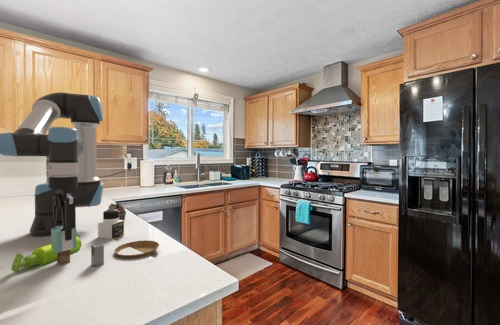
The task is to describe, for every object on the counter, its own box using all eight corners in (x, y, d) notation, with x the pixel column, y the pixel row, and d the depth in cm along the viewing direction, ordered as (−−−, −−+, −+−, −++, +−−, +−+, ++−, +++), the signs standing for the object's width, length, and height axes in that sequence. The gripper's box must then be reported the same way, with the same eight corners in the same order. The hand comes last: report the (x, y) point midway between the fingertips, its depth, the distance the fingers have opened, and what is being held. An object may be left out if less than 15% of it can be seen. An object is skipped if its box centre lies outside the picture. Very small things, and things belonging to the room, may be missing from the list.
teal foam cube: (51, 248, 78) (51, 228, 78) (70, 244, 82) (70, 224, 82) (56, 253, 75) (56, 231, 75) (76, 248, 79) (76, 227, 79)
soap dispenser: (84, 237, 89) (26, 259, 70) (78, 254, 90) (19, 280, 70) (71, 230, 90) (10, 250, 70) (65, 247, 91) (3, 271, 71)
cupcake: (129, 221, 134) (129, 203, 134) (111, 225, 126) (112, 205, 126) (120, 218, 139) (120, 201, 139) (102, 222, 131) (102, 203, 131)
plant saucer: (113, 266, 79) (113, 258, 79) (115, 250, 92) (115, 243, 92) (161, 257, 86) (161, 250, 86) (156, 244, 99) (156, 238, 99)
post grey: (91, 267, 77) (91, 245, 77) (100, 264, 79) (100, 243, 79) (94, 270, 75) (94, 247, 75) (103, 267, 77) (103, 245, 77)
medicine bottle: (112, 241, 102) (112, 212, 102) (97, 239, 103) (97, 211, 103) (124, 235, 109) (124, 209, 109) (110, 234, 110) (110, 208, 110)
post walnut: (57, 265, 78) (57, 244, 78) (67, 263, 80) (67, 241, 80) (60, 268, 76) (60, 245, 76) (70, 265, 79) (70, 243, 78)
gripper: (40, 174, 80) (41, 244, 81) (58, 178, 69) (59, 259, 70) (67, 173, 86) (67, 238, 87) (88, 177, 75) (88, 251, 76)
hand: (64, 247), depth 79 cm, fingers closed on teal foam cube, 5 cm apart
